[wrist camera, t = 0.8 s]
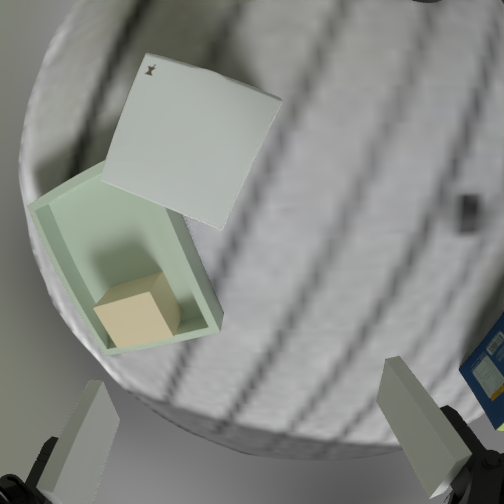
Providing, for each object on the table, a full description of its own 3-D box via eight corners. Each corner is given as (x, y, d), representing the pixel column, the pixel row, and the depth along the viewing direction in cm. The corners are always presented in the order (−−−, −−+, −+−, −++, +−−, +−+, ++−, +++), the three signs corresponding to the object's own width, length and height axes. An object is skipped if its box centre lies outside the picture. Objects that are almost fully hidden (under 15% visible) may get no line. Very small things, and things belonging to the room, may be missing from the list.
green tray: (153, 140, 31) (140, 142, 27) (223, 313, 38) (220, 332, 34) (45, 197, 33) (27, 205, 29) (115, 338, 41) (105, 355, 37)
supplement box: (161, 159, 31) (93, 181, 18) (193, 82, 28) (142, 47, 14) (238, 190, 33) (222, 236, 19) (274, 114, 30) (285, 97, 16)
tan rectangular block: (162, 270, 35) (149, 291, 30) (183, 313, 37) (173, 337, 33) (110, 287, 36) (93, 307, 32) (131, 325, 38) (117, 348, 34)
